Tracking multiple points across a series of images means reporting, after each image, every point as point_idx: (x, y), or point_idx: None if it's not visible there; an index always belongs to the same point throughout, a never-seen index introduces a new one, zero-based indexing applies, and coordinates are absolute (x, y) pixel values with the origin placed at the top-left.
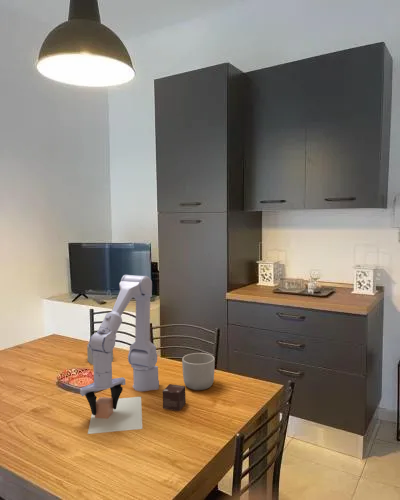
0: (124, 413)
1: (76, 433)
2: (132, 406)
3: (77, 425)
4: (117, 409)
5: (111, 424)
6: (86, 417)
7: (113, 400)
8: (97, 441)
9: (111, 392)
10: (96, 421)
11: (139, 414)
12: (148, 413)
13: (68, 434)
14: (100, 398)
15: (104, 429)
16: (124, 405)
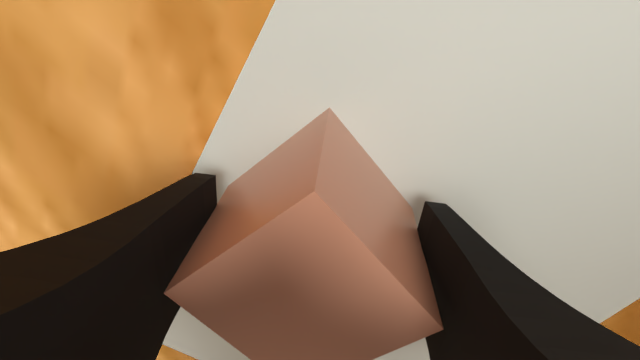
0: None
1: (72, 225)
2: (613, 237)
3: (90, 131)
4: (473, 193)
5: None
6: (193, 48)
7: (438, 303)
8: (174, 354)
9: (491, 333)
10: None
11: None
12: (609, 325)
13: (16, 201)
14: (290, 239)
15: (228, 347)
16: (588, 170)
